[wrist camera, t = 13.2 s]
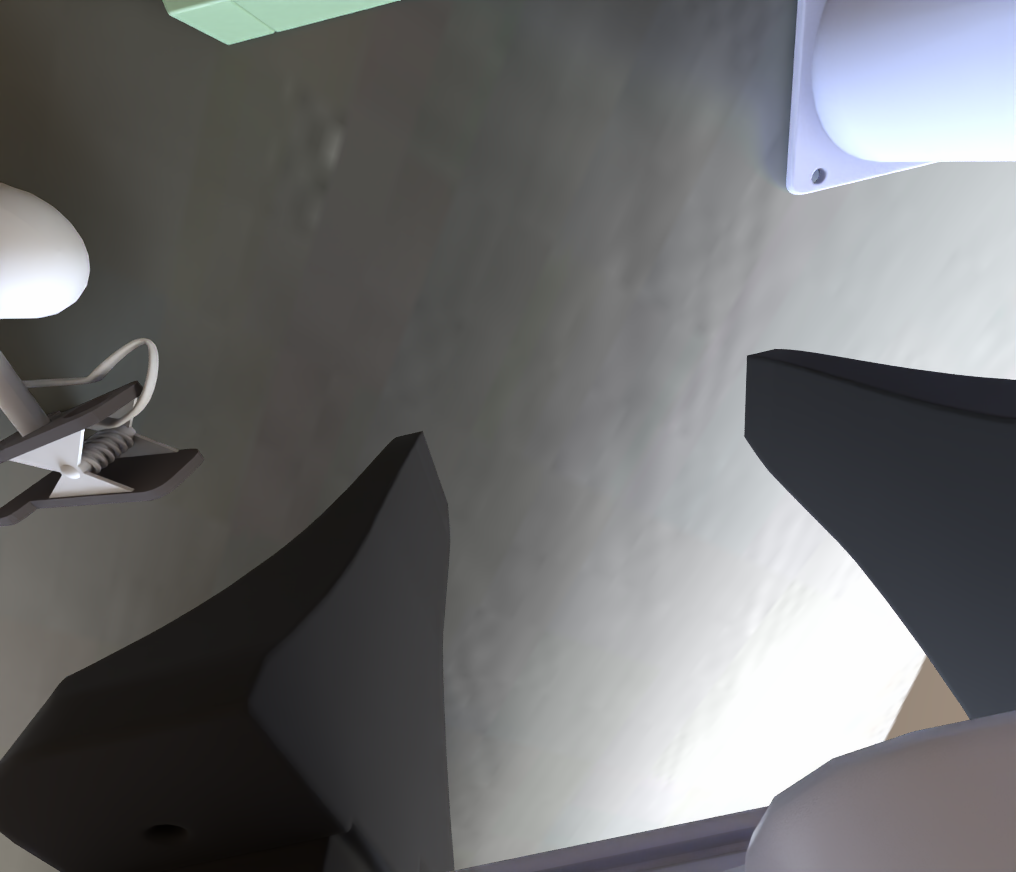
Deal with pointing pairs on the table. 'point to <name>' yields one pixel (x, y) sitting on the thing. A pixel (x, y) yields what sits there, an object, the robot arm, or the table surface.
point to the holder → (259, 15)
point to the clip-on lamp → (71, 381)
